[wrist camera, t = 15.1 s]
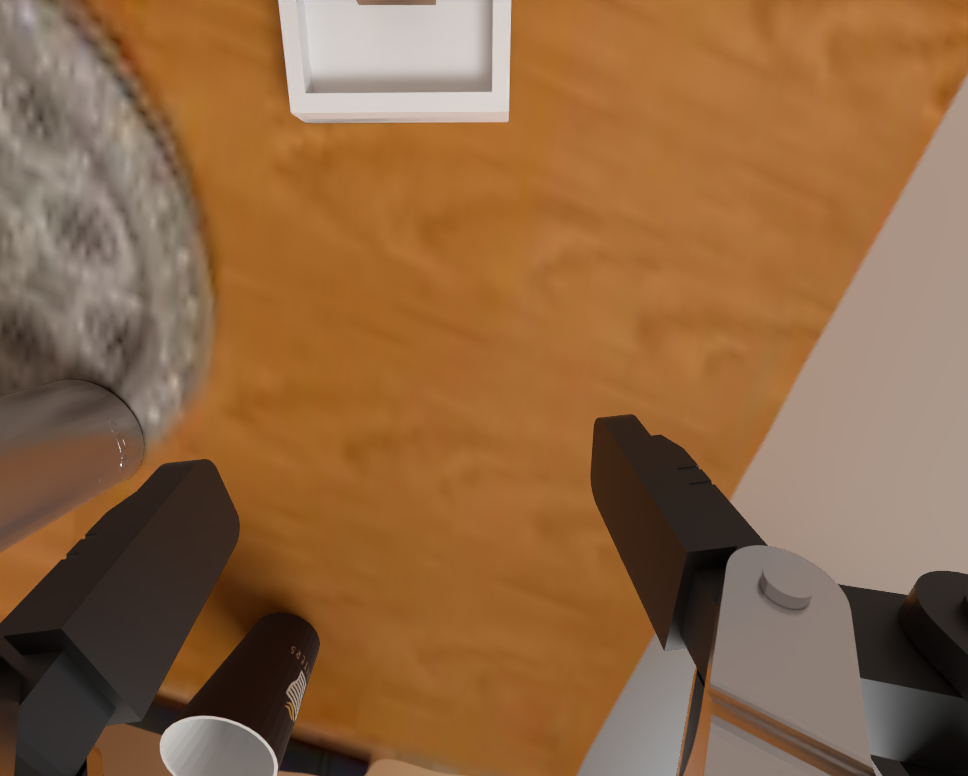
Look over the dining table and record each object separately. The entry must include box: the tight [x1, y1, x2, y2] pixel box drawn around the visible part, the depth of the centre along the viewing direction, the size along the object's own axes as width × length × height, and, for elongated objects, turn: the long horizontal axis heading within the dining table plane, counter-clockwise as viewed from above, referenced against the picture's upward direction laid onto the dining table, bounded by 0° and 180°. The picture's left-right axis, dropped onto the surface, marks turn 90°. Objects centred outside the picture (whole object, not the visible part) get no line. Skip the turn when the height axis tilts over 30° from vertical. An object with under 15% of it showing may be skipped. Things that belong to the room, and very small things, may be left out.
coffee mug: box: [160, 613, 320, 776], centre depth 36 cm, size 12×9×10 cm
